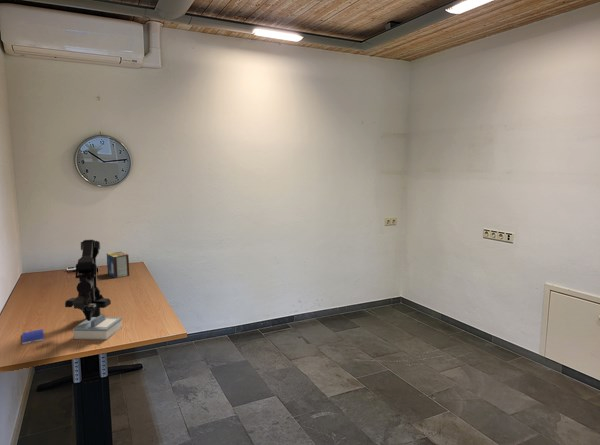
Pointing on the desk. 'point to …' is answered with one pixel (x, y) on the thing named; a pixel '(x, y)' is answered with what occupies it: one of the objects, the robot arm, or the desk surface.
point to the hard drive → (32, 336)
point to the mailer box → (97, 333)
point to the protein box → (118, 264)
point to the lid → (98, 323)
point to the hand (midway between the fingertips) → (89, 320)
